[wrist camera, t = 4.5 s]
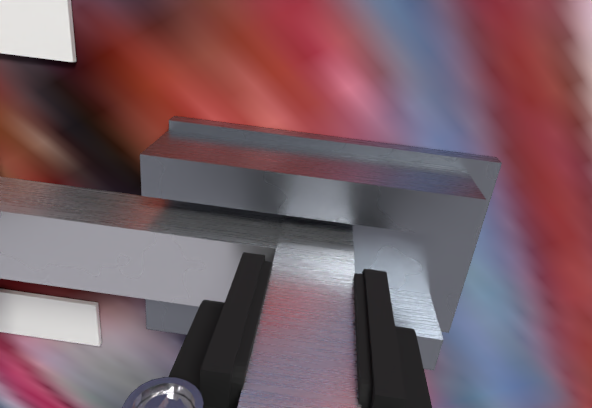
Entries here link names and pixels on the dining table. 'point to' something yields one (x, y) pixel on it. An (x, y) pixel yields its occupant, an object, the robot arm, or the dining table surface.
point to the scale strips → (58, 46)
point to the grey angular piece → (200, 274)
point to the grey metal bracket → (338, 206)
